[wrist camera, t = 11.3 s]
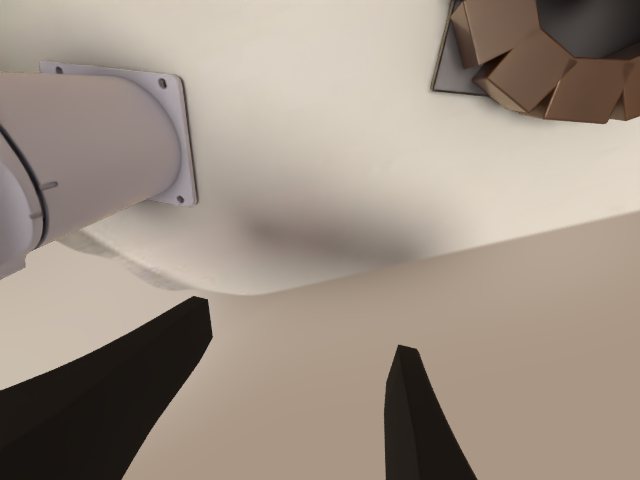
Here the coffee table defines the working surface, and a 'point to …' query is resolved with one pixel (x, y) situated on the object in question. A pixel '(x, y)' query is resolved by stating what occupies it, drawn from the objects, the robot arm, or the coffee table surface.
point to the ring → (543, 66)
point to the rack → (560, 23)
